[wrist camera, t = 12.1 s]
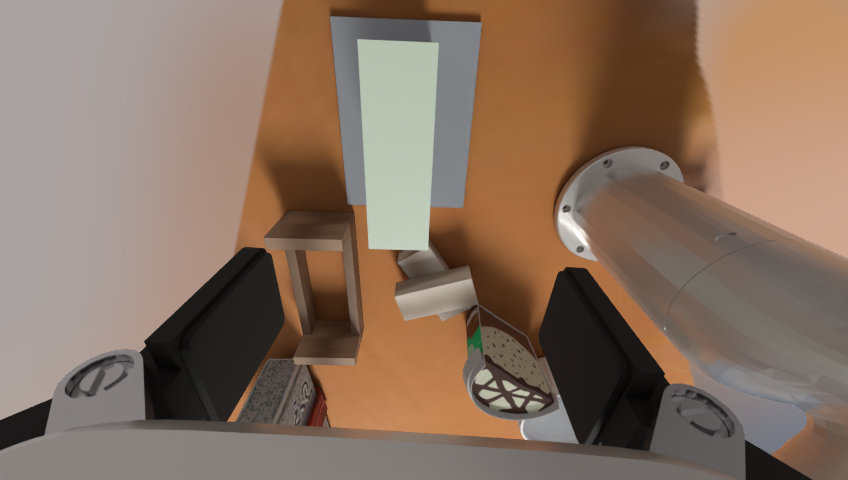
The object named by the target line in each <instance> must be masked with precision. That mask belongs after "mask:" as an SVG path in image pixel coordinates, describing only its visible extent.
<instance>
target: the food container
mask: <svg viewBox="0 0 848 480" xmlns="http://www.w3.org/2000/svg"><path fill="white" fill-rule="evenodd" d="M466 330H467V350H468V359H467V361H466V363H465V366H464V369H463V379H464V383H465V385H466V388H467V391H468V393H469V395H470V398H471V399H472V400H473V402H474V403H475V405H476V406H477V407H478V408H479V409H480V410H481V411H483V412H485V413H486V414H488V415H490V416H493V417H496V418H500V419H505V420H529V419H534V418H539V417H542V416H546V415H548V414H550V413H553V412H555V411H557V410H559V409H560V408H559V406H558V405H559V402H558V399H557V395H556V393H554V394H553V392H552V390H551V388H550V385H549V383H548V381H547V379H546V376H545V374H544V372H543V370H542V368H541V365H540V363H539V361H538V359H537V356H536V354H535V352H534V350H533V348H532V345H531V343H530V341H529V339H528V336H527V335H525V334H524V333H522V332H521V331H519V330H518V329H516V328H514V327H513V326H511V325H510V324H508V323H507V322H505V321H504V320H502V319H501V318H499V317H498V316H496V315H495V314H493V313H492V312H490V311H488V310H487V309H485V308H484V307H482V306H481V305H479V304H478V305H475V306H474V307H473V308H472V309H471V311H470V313H469V314H468V316H467V324H466Z"/></svg>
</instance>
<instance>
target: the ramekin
mask: <svg viewBox="0 0 848 480" xmlns="http://www.w3.org/2000/svg"><path fill="white" fill-rule="evenodd" d="M538 361H539V363H540V365H541V368H542V370H543V372H544V374H545V376H546V379H547V381H548V383H549V385H550V388H551V390H552V392H553V394H554V393H556V395H557V399H558V402H559V405H558V406H559V408H560V409H559V410H557V411H555V412H553V413H550V414H548V415H546V416H542V417H539V418H534V419H529V420H518V426H519V429H520V432H521V434H522V436H523V438H524V439H525V440H536V441H551V442H563V443H575V444H579V442H578V441H577V439H576V436H575V433H574V431H573V428H572V426H571V423H570V420H569V418H568V415H567V412H566V410H565V407H564V405H563V402H562V399H561V397H560V394H559V391H558V389H557V386H556V384H555V381H554V378H553V376H552V373H551V370H550V368H549V365H548V363H547V360H546V357H545V356H544V357H541V358H539V359H538Z"/></svg>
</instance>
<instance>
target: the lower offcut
mask: <svg viewBox="0 0 848 480" xmlns="http://www.w3.org/2000/svg"><path fill="white" fill-rule="evenodd" d="M397 263H398V264H399V265H400V267H401V268H402V269H403V271H404V272H405V273H406V274H407V276H408V277H409V278H410V279H413V278H417V277H421V276H426V275H430V274H434V273H438V272H442V271H446V270H450V268H449V267H448V265H447V264H446V263H445V261H444V260H443V258H442V257H441V255H440V254H439V252H438V251H437V249H436V248H435V246H434V245H433V243H432V242H431V241H430V239H429V240H428V251H424V250H404V251H402V252H400V253H399V254H398V262H397ZM470 308H471V306H469V307H465V308H460V309H456V310H451V311H447V312H442V313H438V314H437V315H438V316H439V317H440V319H441V320H442V321H443V320H446V319H448V318H450V317H452V316H455V315H457V314H459V313H461V312H464V311H466V310H468V309H470Z"/></svg>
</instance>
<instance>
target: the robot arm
mask: <svg viewBox="0 0 848 480" xmlns="http://www.w3.org/2000/svg"><path fill="white" fill-rule="evenodd" d="M604 161H605V162H604ZM554 223H555V229H556V232H557V234H558V237H559V238H560V240H561V241H562V242H563V244H564V245H565V246H566V247H567V248H568V249H569V250H570V251H571V252H572V253H574V254H575V255H577V256H579V257H582V258H584V259H588V260H593V261H599V262H600V263H601V264H602V265H603V267H604V268H605V269H606V270H607V271H608V272H609V273H610V274H611V276H612V277H613V278H614V279H615V280H616V281H617V282H618V283H619V285H620V286H621V287H622V288H623V289H624V290H625V291H626V293H627V294H628V295H629V296H630V297H631V298H632V299H633V300H634V302H635V303H636V304H637V305H638V306H639V307H640V308H641V309H642V311H643V312H644V313H645V314H646V315H647V316H648V317H649V318H650V320H651V321H652V322H653V323H654V324H655V325H656V326H657V328H658V329H659V330H660V331H661V332H662V333H663V334H664V335H665V337H666V338H667V339H668V340H669V341H670V342H671V343H672V344H673V346H674V347H675V348H676V349H677V350H678V351H679V352H680V353H681V354H682V356H683V357H684V358H685V359H686V360H687V361H688V362H689V363H690V364H691V365H693V366H694V367H695V368H696V369H697V370H699V371H700V372H701V373H703V374H704V375H706V376H707V377H709V378H710V379H712V380H714V381H715V382H717V383H719V384H722V385H724V386H726V387H728V388H731V389H733V390H736V391H739V392H742V393H746V394H748V395H752V396H756V397H760V398H764V399H768V400H772V401H777V402H781V403H786V404H790V405H793V406H795V407H798V408H799V409H801V410H802V411H803V412H804V413H805V414H806V416H807V424H806V426H805V427H804V429H803V430H802V431H800V432H799V433H798V434H796V435H795V436H794V437H792V438H791V439H790V440H788V441H787V442H785V444H784V445H783V446H782V447H781V448H780V449H778V450H776V451H775V452H773V453H772V454H768V453H766V452H765V451H763V450H762V449H760V448H758V447H756V446H754V445H753V444H751V443H750V442H748V441H746V440H745V434H744V430H743V427H742V425H741V423H740V421H739V420H738V418H737V417H736V416H735V414H734V413H733V412H732V411H731V410H730V409H729V408H728V407H727V406H726V405H724V404H723V403H722V402H721V401H719V400H718V399H717V398H715V397H714V396H712V395H710V394H709V393H707V392H705V391H703V390H701V389H698V388H696V387H694V386H690V385H686V384H671V385H670V384H669V383H668V381H667V380H666V379H665V377H664V375H665V373H664V372H663V370H662V369H661V368H660V366H659V365H658V364H657V362H656V361H655V360H654V358H653V357H652V356H651V354H650V353H649V352H648V350H647V349H646V348H645V346H644V345H643V344H642V342H641V341H640V340H639V338H638V337H637V336H636V334H635V333H634V332H633V330H632V329H631V328H630V326H629V325H628V324H627V322H626V321H625V320H624V318H623V317H622V316H621V314H620V313H619V312H618V310H617V309H616V308H615V306H614V305H613V304H612V302H611V301H610V300H609V298H608V297H607V296H606V294H605V293H604V292H603V290H602V289H601V288H600V286H599V285H598V284H597V282H596V281H595V280H594V278H593V277H592V276H591V274H590V273H589V272H588V270H587V269H585V268H574V267H566V268H565V269H564V270H563V271H560V272H559V273H558V275H557V278H556V281H555V284H554V287H553V290H552V294H551V297H550V300H549V303H548V306H547V309H546V313H545V316H544V319H543V322H542V325H541V328H540V332H539V341H540V344H541V347H542V349H543V352H544V355H545V357H546V360H547V363H548V365H549V368H550V370H551V373H552V376H553V378H554V381H555V384H556V386H557V389H558V391H559V394H560V397H561V399H562V402H563V405H564V407H565V410H566V412H567V415H568V418H569V420H570V423H571V426H572V428H573V431H574V433H575V436H576V439H577V441H578V442H579V444H575V443H563V442H551V441H536V440H521V439H506V438H491V437H476V436H462V435H446V434H430V433H414V432H398V431H382V430H365V429H349V428H332V427H315V426H297V425H279V424H261V423H243V422H226V421H227V420H228V419H229V417H230V416H231V414H232V412H233V410H234V409H235V407H236V405H237V404H238V402H239V400H240V398H241V397H242V395H243V393H244V392H245V390H246V388H247V386H248V385H249V383H250V381H251V380H252V378H253V376H254V374H255V373H256V371H257V369H258V368H259V366H260V364H261V363H262V361H263V359H264V357H265V356H266V354H267V352H268V351H269V349H270V347H271V345H272V344H273V342H274V340H275V339H276V337H277V335H278V333H279V332H280V330H281V328H282V326H283V324H284V312H283V307H282V302H281V298H280V293H279V288H278V283H277V279H276V274H275V269H274V264H273V259H272V256H271V254H270V253H267V252H266V250H265V249H263V248H252V247H244V248H243V249H241V250H240V251H239V252H238V253H237V254H236V255H235V256H234V257H233V258H232V259H231V260H230V261H229V262H228V263H227V264H225V266H223V267H222V268H221V269H220V270H219V271H218V272H217V273H216V274H215V275H214V276H213V277H212V278H211V279H210V280H209V281H207V282H206V283H205V284H204V285H203V286H202V287H201V288H200V289H199V290H198V291H197V292H196V293H195V294H194V295H193V296H192V297H191V298H190V299H188V301H186V302H185V303H184V304H183V305H182V306H181V307H180V308H179V309H178V310H177V311H176V312H175V313H174V314H173V315H172V316H171V317H170V318H169V319H167V320H166V321H165V322H164V323H163V324H162V325H161V326H160V327H159V328H158V329H157V330H156V331H155V332H154V333H153V334H152V335H150V336H149V337H148V338H147V339H146V340H145V341H144V342H145V344H146V347H145V348H144V349H143V350H142V351H141V352H140V353H139V352H137V351H135V350H129V349H124V350H115V351H111V352H108V353H104V354H101V355H99V356H97V357H94V358H92V359H90V360H88V361H86V362H84V363H82V364H81V365H79V366H77V367H76V368H75V369H73V370H72V371H71V372H69V373H68V374H67V375H66V376H65V377H64V378H63V379H62V380H61V381H60V382H59V383H58V385H57V387H56V390H55V391H54V395H53V398H52V399H50V400H48V401H45V402H43V403H40V404H38V405H35V406H33V407H31V408H29V409H26V410H24V411H21V412H19V413H16V414H14V415H12V416H9V417H7V418H4V419H2V420H0V480H848V259H847V258H845V257H843V256H841V255H838V254H836V253H834V252H832V251H829V250H828V249H825V248H823V247H821V246H819V245H817V244H814V243H811V242H809V241H807V240H805V239H802V238H800V237H798V236H796V235H794V234H792V233H790V232H788V231H785V230H783V229H781V228H779V227H777V226H774V225H772V224H770V223H768V222H766V221H764V220H762V219H760V218H757V217H755V216H753V215H751V214H749V213H746V212H744V211H742V210H740V209H738V208H736V207H734V206H732V205H729V204H727V203H725V202H723V201H721V200H719V199H716V198H714V197H712V196H710V195H708V194H706V193H704V192H701V191H699V190H697V189H695V188H693V187H691V186H688V185H686V184H684V178H683V175H682V173H681V170H680V168H679V167H678V165H677V164H676V163H675V162H674V160H673V159H671V158H670V157H668V156H667V155H666V154H664V153H662V152H659V151H657V150H654V149H650V148H646V147H641V146H628V147H622V148H616V149H613V150H610V151H607V152H604V153H602V154H601V155H599V156H597V157H595V158H593V159H591V160H590V161H588V162H587V163H586V164H584V165H583V166H582V167H580V168H579V169H578V170H577V171H576V172H575V173H574V174H573V175H572V176H571V177H570V179H569V180H568V182H567V183H566V184H565V186H564V187H563V189H562V191H561V193H560V195H559V197H558V199H557V203H556V206H555V212H554Z"/></svg>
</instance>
